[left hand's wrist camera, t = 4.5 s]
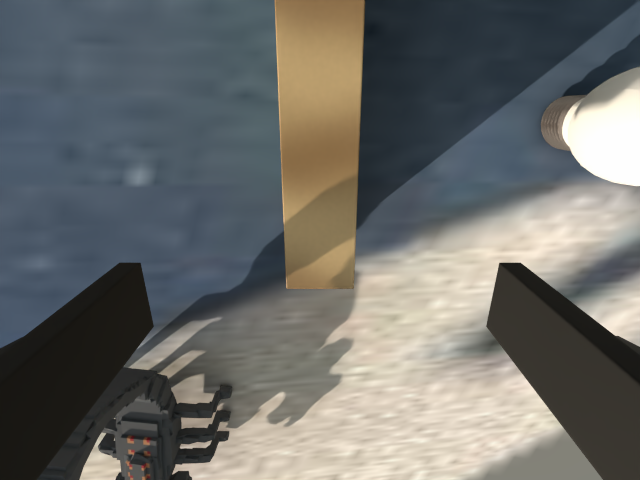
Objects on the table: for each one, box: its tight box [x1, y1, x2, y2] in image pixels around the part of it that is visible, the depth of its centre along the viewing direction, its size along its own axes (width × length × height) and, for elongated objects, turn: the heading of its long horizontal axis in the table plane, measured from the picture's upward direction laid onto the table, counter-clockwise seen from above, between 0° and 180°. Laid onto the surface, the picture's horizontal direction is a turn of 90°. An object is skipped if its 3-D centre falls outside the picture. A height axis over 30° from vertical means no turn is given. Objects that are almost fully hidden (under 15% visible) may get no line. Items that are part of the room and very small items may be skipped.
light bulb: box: [541, 67, 640, 186], centre depth 21 cm, size 7×7×11 cm
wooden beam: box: [275, 0, 365, 289], centre depth 20 cm, size 26×4×10 cm, turn 0°
